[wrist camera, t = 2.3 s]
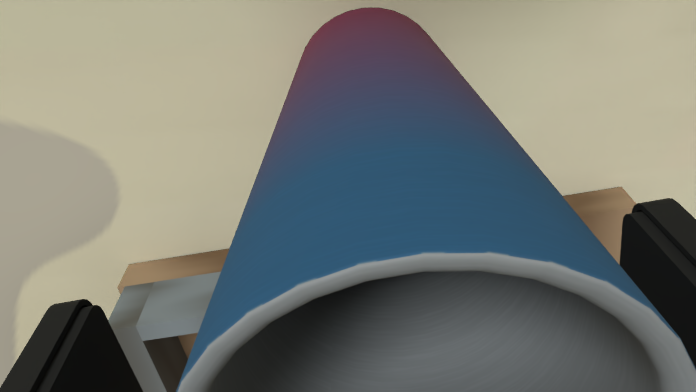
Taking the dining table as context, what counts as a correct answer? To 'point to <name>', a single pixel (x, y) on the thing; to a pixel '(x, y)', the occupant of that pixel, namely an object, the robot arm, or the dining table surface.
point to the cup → (416, 247)
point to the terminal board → (201, 278)
